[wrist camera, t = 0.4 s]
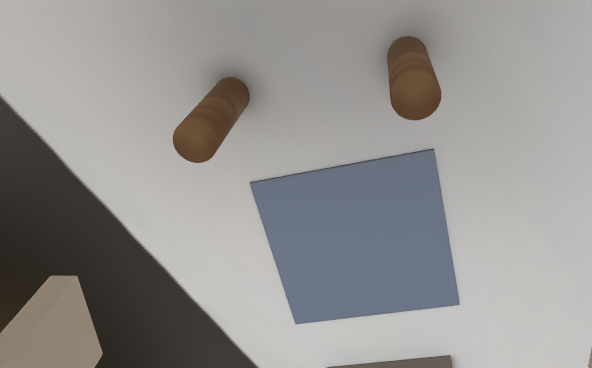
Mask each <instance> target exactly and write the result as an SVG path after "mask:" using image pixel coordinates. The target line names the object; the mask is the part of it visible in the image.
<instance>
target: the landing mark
mask: <svg viewBox="0 0 592 368" xmlns="http://www.w3.org/2000/svg"><path fill="white" fill-rule="evenodd" d="M250 186H251V189H252V192H253V195H254V198H255V201H256V204H257V207H258V210H259V214H260V217H261V220H262V223H263V226H264V229H265V232H266V235H267V238H268V241H269V244H270V247H271V250H272V253H273V256H274V260H275V263H276V266H277V269H278V272H279V275H280V278H281V281H282V284H283V287H284V290H285V293H286V296H287V299H288V303H289V306H290V309H291V312H292V315H293V318H294V321H295V324H302V323H311V322H319V321H328V320H336V319H345V318H353V317H362V316H370V315H378V314H387V313H395V312H404V311H412V310H421V309H429V308H438V307H446V306H455V305H460V304H459V298H458V292H457V286H456V280H455V274H454V268H453V262H452V256H451V250H450V244H449V238H448V232H447V226H446V220H445V214H444V208H443V202H442V196H441V190H440V184H439V178H438V172H437V166H436V160H435V154H434V149H430V150H425V151H420V152H414V153H409V154H403V155H398V156H392V157H387V158H381V159H376V160H370V161H365V162H359V163H354V164H349V165H343V166H338V167H332V168H327V169H321V170H316V171H310V172H305V173H299V174H294V175H289V176H283V177H278V178H272V179H267V180H261V181H256V182H250Z"/></svg>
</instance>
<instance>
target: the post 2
mask: <svg viewBox="0 0 592 368" xmlns="http://www.w3.org/2000/svg"><path fill="white" fill-rule="evenodd" d="M387 59H388V72H389V86H390V99H391V104H392V107H393V109H394V110H395V111H396V113H397V114H398V115H400V116H401V117H403V118H405V119H409V120H420V119H424V118H426V117H428V116H430V115H431V114H432V113H433V112H434V111H435V110H436V109H437V107H438V106H439V104H440V101H441V89H440V86H439V83H438V81H437V78H436V75H435V72H434V70H433V67H432V64H431V61H430V58H429V56H428V53H427V50H426V47H425V46H424V44H423V43H422V42H421V41H420V40H419V39H417V38H415V37H410V36H407V37H402V38H399V39H398V40H396V41H395V42H394V43H393V44H392V45H391V46H390V48H389V51H388V55H387Z"/></svg>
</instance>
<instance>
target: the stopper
mask: <svg viewBox="0 0 592 368" xmlns="http://www.w3.org/2000/svg"><path fill="white" fill-rule="evenodd" d="M329 368H452V364H451V359H450V356H441V357H431V358H421V359H411V360H400V361H390V362H380V363H370V364H360V365H349V366H339V367H329Z"/></svg>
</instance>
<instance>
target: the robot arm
mask: <svg viewBox="0 0 592 368" xmlns="http://www.w3.org/2000/svg"><path fill="white" fill-rule="evenodd" d="M102 354H103V353H102V350H101V347H100V344H99V341H98V338H97V335H96V332H95V329H94V326H93V323H92V320H91V317H90V314H89V311H88V308H87V305H86V302H85V299H84V296H83V293H82V290H81V287H80V284H79V281H78V278H77V276H50V277H49V278H48V280H47V281H46V282H45V283H44V284H43V285H42V286H41V288H40V289H39V290H38V291H37V292H36V293H35V294H34V296H33V297H32V298H31V299H30V300H29V301H28V303H27V304H26V305H25V306H24V307H23V308H22V309H21V311H20V312H19V313H18V314H17V315H16V316H15V317H14V319H13V320H12V321H11V322H10V323H9V324H8V325H7V327H6V328H5V329H4V330H3V331H2V332H1V333H0V368H94V367H95V366H96V364H97V362H98V361H99V359H100V357H101V356H102ZM588 367H589V368H592V349H591V354H590V359H589V364H588Z"/></svg>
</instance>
